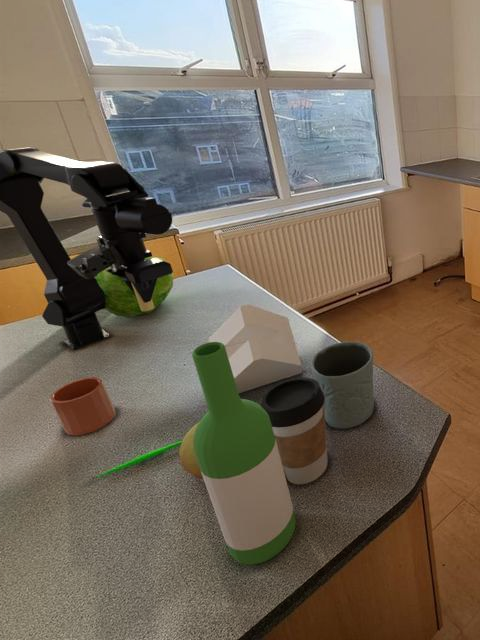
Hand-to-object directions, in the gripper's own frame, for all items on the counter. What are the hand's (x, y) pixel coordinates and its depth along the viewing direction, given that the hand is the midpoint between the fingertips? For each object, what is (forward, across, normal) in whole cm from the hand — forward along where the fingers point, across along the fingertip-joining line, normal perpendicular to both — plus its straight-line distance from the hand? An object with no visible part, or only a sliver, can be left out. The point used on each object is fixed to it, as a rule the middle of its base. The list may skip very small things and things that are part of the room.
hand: (144, 300), depth 89 cm
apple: (+13, +42, -10) cm, 45 cm away
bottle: (+13, +58, -14) cm, 62 cm away
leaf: (+13, +30, -15) cm, 36 cm away
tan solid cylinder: (+2, 0, 0) cm, 2 cm away
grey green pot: (+13, +50, +8) cm, 52 cm away
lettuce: (+13, -26, +7) cm, 30 cm away
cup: (+13, +12, -16) cm, 24 cm away
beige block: (+13, +28, +5) cm, 31 cm away
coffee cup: (+13, +54, -4) cm, 55 cm away
